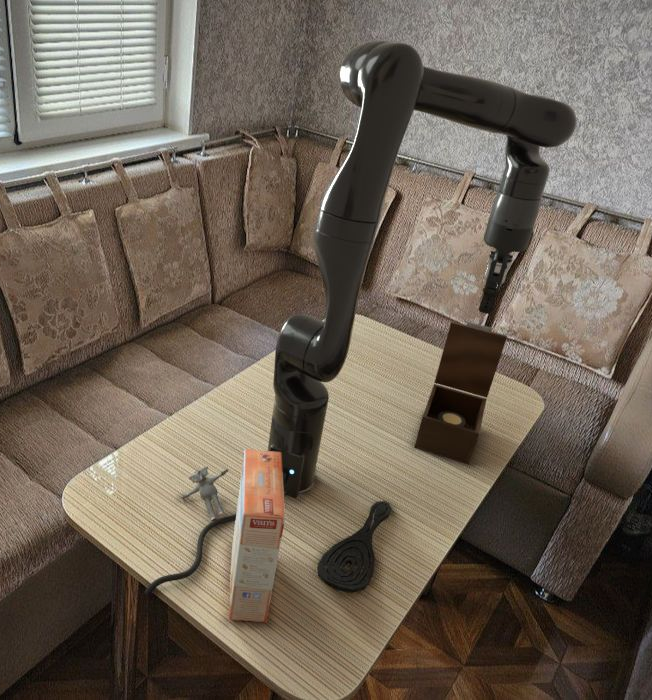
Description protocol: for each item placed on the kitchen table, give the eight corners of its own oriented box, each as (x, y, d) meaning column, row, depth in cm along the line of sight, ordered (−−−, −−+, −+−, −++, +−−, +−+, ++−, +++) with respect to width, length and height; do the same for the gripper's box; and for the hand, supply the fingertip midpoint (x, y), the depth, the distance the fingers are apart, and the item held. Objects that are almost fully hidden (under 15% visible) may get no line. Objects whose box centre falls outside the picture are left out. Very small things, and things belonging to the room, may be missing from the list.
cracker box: (269, 624, 97) (286, 517, 87) (227, 621, 97) (240, 514, 86) (268, 551, 109) (283, 449, 99) (231, 548, 109) (242, 446, 98)
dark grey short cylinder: (457, 450, 136) (464, 430, 134) (430, 441, 138) (436, 421, 135) (461, 435, 141) (467, 416, 138) (434, 427, 143) (440, 407, 140)
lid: (507, 337, 133) (509, 325, 137) (450, 322, 136) (454, 312, 141) (487, 397, 141) (489, 385, 145) (434, 382, 144) (438, 371, 148)
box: (469, 464, 134) (479, 433, 130) (414, 447, 137) (422, 416, 133) (477, 428, 145) (486, 398, 141) (426, 413, 148) (434, 383, 144)
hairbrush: (411, 502, 118) (358, 592, 98) (406, 518, 120) (354, 610, 100) (367, 484, 121) (308, 567, 102) (363, 499, 123) (304, 584, 103)
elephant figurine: (185, 529, 112) (168, 483, 117) (202, 534, 117) (185, 489, 122) (235, 499, 110) (215, 453, 115) (250, 506, 115) (230, 461, 120)
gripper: (493, 204, 123) (470, 285, 131) (485, 226, 111) (461, 313, 119) (536, 213, 120) (510, 294, 128) (533, 236, 109) (504, 324, 117)
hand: (486, 303), depth 124 cm, fingers open, 8 cm apart
